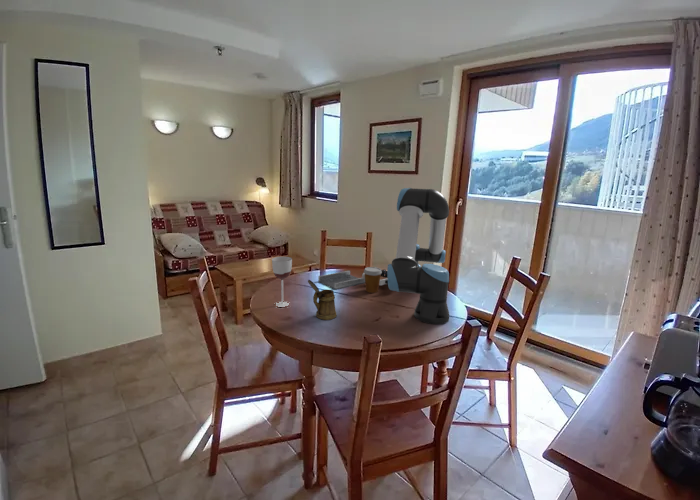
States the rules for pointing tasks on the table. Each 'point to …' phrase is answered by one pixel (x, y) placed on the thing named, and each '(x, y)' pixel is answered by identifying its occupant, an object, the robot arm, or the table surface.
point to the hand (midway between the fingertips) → (371, 279)
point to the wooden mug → (324, 303)
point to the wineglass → (282, 273)
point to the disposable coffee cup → (372, 279)
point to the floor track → (340, 280)
